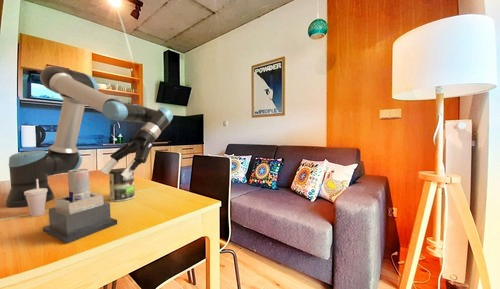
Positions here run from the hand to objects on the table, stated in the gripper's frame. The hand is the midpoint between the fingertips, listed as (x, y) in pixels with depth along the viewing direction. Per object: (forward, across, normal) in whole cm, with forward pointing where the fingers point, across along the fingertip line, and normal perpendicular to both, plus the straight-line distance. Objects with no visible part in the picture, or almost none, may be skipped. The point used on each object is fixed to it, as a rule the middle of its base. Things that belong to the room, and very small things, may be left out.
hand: (113, 174), depth 78 cm
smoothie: (+21, +28, -2) cm, 35 cm away
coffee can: (+2, +18, -21) cm, 28 cm away
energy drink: (+14, -1, +2) cm, 14 cm away
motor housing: (+19, -1, -3) cm, 19 cm away
